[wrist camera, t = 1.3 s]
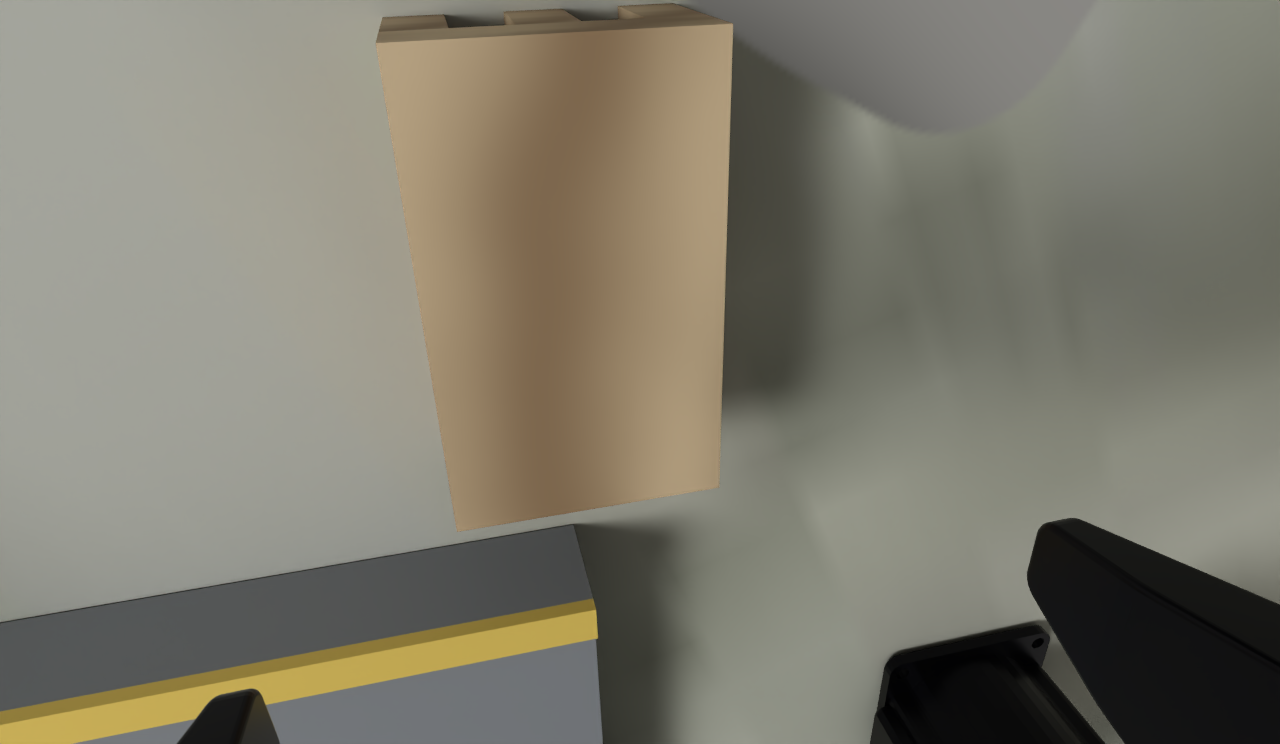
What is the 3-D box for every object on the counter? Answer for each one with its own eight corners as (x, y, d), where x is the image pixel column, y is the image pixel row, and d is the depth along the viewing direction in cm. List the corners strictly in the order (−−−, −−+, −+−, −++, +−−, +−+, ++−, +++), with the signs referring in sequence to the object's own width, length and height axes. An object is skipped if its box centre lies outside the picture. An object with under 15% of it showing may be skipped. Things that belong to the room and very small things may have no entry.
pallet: (671, 3, 18) (733, 23, 14) (672, 401, 23) (719, 487, 19) (382, 16, 17) (375, 43, 13) (449, 434, 22) (457, 531, 18)
